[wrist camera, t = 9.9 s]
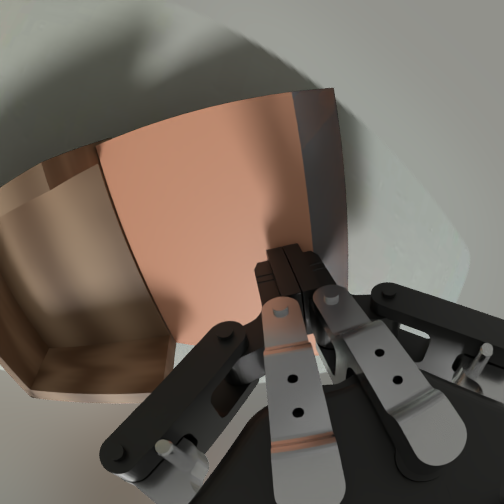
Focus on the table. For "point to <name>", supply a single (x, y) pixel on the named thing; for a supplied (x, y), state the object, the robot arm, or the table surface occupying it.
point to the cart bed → (75, 290)
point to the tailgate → (229, 202)
